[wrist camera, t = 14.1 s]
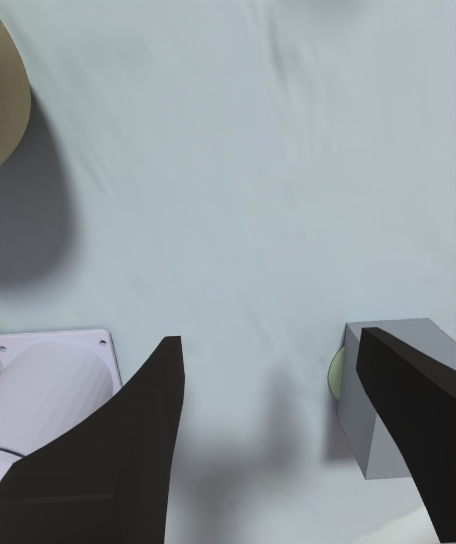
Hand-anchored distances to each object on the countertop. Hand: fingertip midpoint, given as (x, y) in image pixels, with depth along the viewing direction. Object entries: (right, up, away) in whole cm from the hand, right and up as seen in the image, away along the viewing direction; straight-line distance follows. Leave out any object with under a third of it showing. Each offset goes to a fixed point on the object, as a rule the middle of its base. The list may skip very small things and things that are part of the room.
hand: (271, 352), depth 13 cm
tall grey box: (+10, -4, +12) cm, 17 cm away
